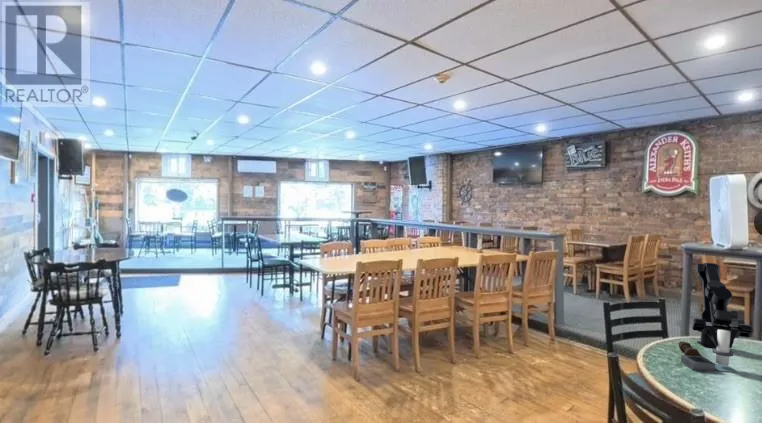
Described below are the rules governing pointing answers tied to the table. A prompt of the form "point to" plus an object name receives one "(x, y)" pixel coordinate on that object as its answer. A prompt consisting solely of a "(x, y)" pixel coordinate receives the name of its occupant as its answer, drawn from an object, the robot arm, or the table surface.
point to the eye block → (698, 363)
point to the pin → (723, 347)
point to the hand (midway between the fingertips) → (723, 346)
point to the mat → (724, 368)
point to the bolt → (688, 349)
